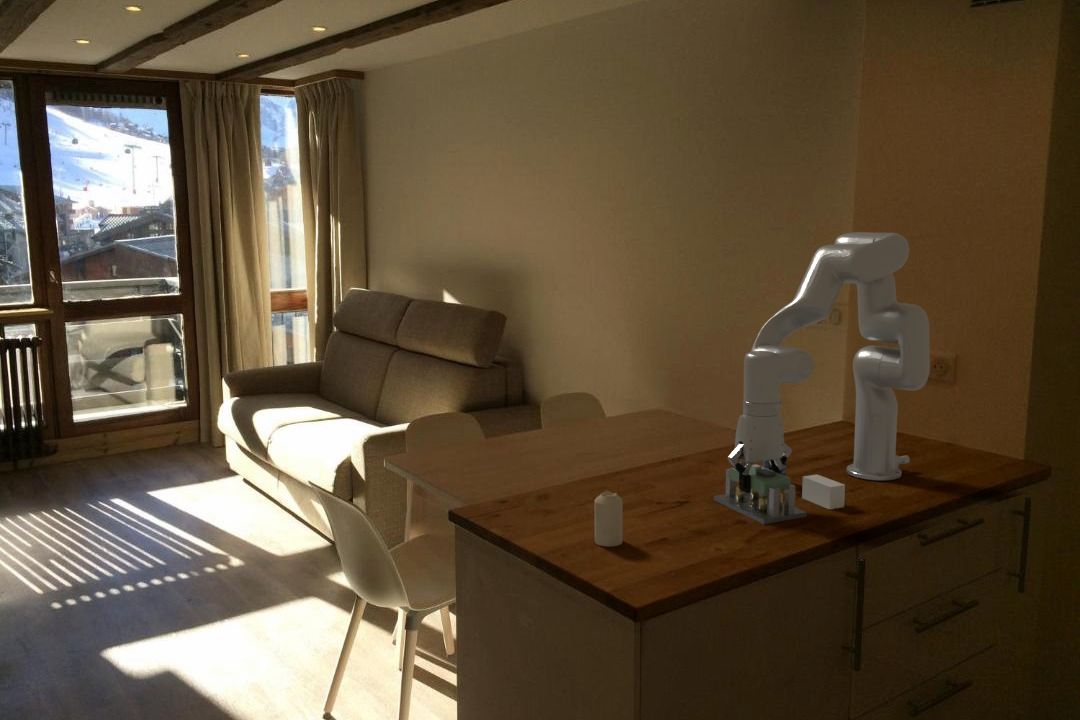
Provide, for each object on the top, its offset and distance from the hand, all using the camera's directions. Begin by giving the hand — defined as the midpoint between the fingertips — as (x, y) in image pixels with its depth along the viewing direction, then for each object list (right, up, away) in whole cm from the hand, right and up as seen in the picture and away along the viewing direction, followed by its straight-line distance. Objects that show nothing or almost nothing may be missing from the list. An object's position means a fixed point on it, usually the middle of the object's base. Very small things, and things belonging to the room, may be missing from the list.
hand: (759, 488), depth 196 cm
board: (0, +1, 0) cm, 1 cm away
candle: (-34, -8, -18) cm, 40 cm away
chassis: (0, -4, +1) cm, 4 cm away
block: (+15, -4, +4) cm, 16 cm away
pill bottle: (+8, -2, +19) cm, 21 cm away
